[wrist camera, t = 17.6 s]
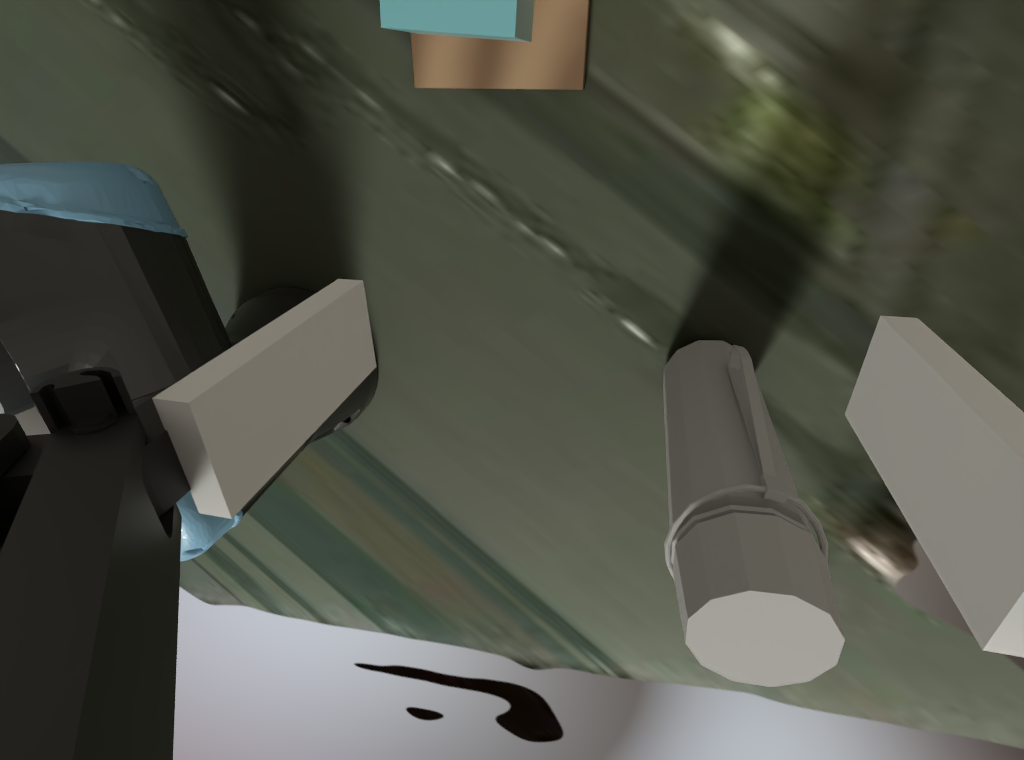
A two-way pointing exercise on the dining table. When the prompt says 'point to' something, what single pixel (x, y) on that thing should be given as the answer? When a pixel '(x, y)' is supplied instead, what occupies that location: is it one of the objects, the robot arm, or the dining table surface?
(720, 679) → the dining table surface
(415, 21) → the teal block
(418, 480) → the dining table surface
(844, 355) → the dining table surface
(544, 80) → the wooden peg stand
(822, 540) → the water bottle
